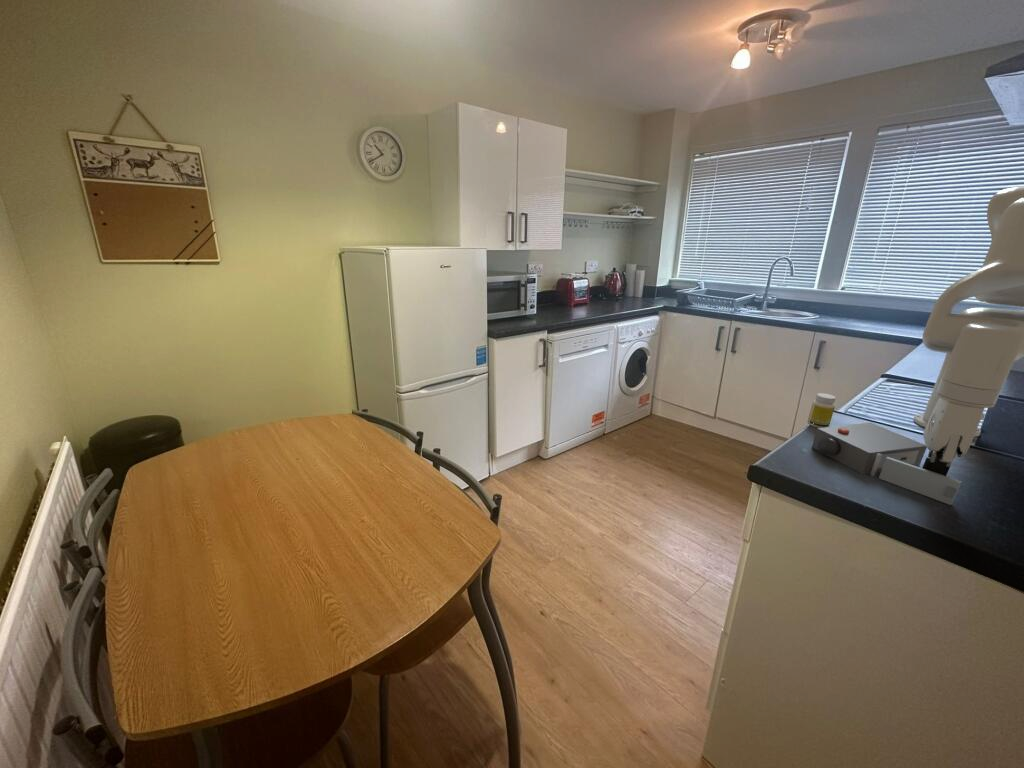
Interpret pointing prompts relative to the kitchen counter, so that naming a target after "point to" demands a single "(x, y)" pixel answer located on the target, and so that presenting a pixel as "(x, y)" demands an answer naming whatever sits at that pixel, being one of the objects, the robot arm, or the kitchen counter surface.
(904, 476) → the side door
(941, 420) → the robot arm
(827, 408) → the supplement bottle
